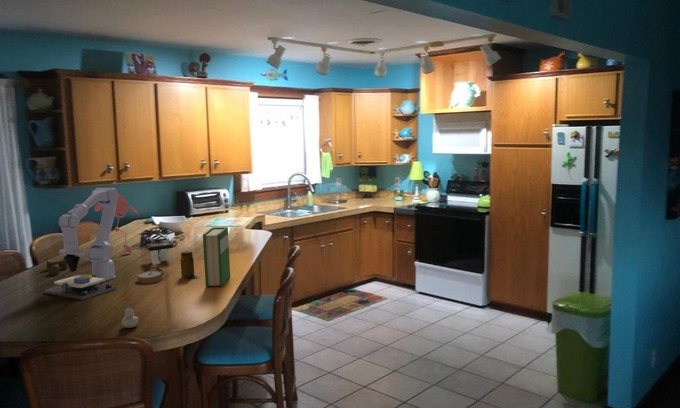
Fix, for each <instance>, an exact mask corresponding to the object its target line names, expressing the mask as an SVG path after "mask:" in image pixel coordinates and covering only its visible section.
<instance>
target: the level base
mask: <svg viewBox="0 0 680 408" xmlns="http://www.w3.org/2000/svg"><path fill="white" fill-rule="evenodd" d="M90 275H91V276H92V277H96V275H93V274H90ZM116 290H117V286H116V285H112V283H101V282H100V283H97V284H93V285H90V286H86V287H83V288H78V287H71V286H68V283H63V285H56V286H53V287H49V288H46V289H44V293H45V294H49V295H52V296H53V295H54V296H58V297H59V296H60V297H64V298H68V299H69V298H70V299H74V300H80V301H83V300H87V299H91V298H93V297H97V296H100V295H102V294H106V293H108V292H112V291H116Z"/></svg>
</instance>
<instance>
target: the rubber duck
mask: <svg viewBox="0 0 680 408" xmlns="http://www.w3.org/2000/svg"><path fill="white" fill-rule="evenodd" d="M138 323H139V317H138V316H136V315H135V311H134V309H133V308H132V307H130V306H129V305H128V306H127V307H126V308H125V310H124V317H123V318H122V320H121V324H122V326H123V327H124V328H126V329H131V328H134V327H136V326H137V325H138Z"/></svg>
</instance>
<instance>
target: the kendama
mask: <svg viewBox="0 0 680 408" xmlns="http://www.w3.org/2000/svg"><path fill="white" fill-rule="evenodd" d="M61 269H65V270H67V269H69V266H68V264H67V262H66V261H65V259H64V258H63V259H62V260H56V261H55V260H52V259H49V258H47V260H46V270H47V272H48V274H49V275H50V276H57V275H59V274H60V271H61Z"/></svg>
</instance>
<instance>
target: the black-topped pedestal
mask: <svg viewBox="0 0 680 408" xmlns="http://www.w3.org/2000/svg"><path fill="white" fill-rule="evenodd" d="M146 248H147V251H148V252H150V253H151V263H152V265H153V266H155V265H160V264H162V263H161V262H166V261H167V262H168V261H169V260H170V258H169V257H170V256H169V249H173V248H174V243H173V241H170V238H169V237H167V241H164V239H163V238H160V239H151V243H146Z"/></svg>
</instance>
